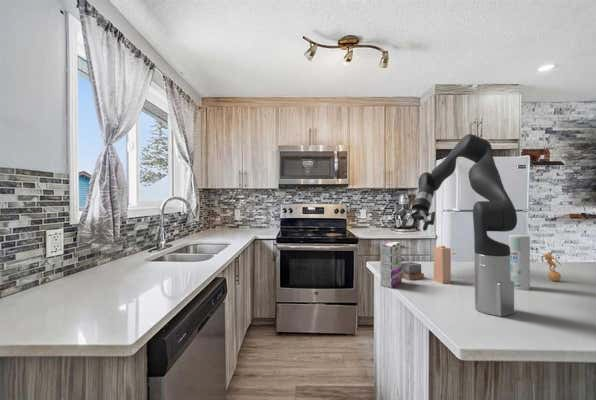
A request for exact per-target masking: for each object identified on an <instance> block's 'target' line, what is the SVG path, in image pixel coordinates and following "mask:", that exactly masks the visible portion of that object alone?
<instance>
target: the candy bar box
mask: <svg viewBox="0 0 596 400" xmlns="http://www.w3.org/2000/svg"><path fill="white" fill-rule="evenodd" d="M401 245H402V242H396V241H389V242H386V243H382V244H380V245H379V261H380V262H379V263H380V287H383V288H388V289H389V288H390V289H393V288H395V287H396V286H398V285H400V284H401V283H402V279H403V278H402V277H401V263H402V249H401V248H402V246H401Z"/></svg>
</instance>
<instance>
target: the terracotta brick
mask: <svg viewBox="0 0 596 400" xmlns="http://www.w3.org/2000/svg"><path fill="white" fill-rule="evenodd" d="M451 250H452V249H451V247H446V246H445V245H438V246H436V247H433V282H436V283H440V284H448V283H449V284H450V283H451V282H452V271H451V270H452V267H451V266H452V263H451V262H452V261H451V260H452V259H451V258H452V256H451V255H452V254H451V253H452V252H451Z"/></svg>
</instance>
